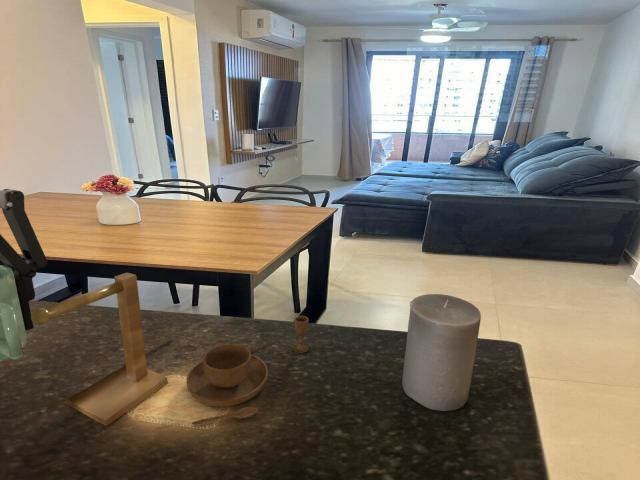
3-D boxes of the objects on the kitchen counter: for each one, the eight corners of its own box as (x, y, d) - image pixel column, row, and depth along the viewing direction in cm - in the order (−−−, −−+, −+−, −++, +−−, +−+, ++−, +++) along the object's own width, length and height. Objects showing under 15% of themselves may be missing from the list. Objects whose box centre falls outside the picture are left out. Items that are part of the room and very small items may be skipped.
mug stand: (19, 413, 50) (-8, 294, 46) (115, 360, 62) (101, 261, 58) (75, 448, 45) (51, 318, 41) (168, 382, 57) (157, 276, 53)
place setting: (191, 355, 64) (188, 323, 63) (306, 342, 69) (307, 313, 68) (181, 432, 48) (178, 393, 47) (333, 408, 53) (335, 372, 51)
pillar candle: (458, 372, 62) (471, 287, 58) (476, 415, 53) (493, 318, 48) (397, 367, 63) (406, 283, 58) (405, 409, 53) (416, 313, 49)
